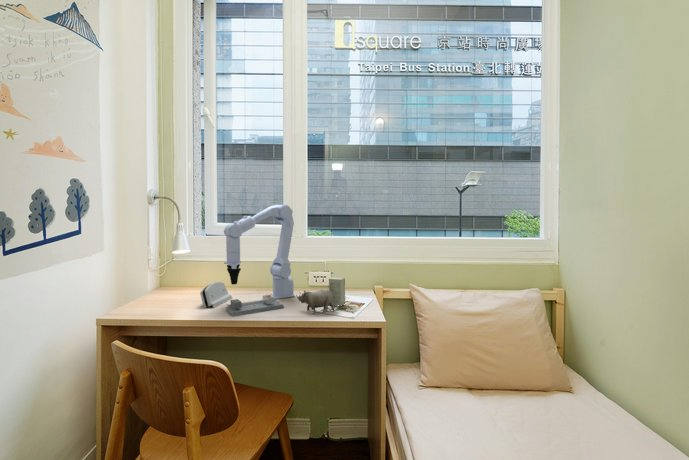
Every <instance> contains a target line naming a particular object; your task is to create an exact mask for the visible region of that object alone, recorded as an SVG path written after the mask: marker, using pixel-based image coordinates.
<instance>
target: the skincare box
mask: <svg viewBox="0 0 689 460" xmlns="http://www.w3.org/2000/svg"><path fill="white" fill-rule="evenodd" d="M328 290H329V291H331V292H332V294H333V296H334V297H333V300H332V301H331V302H332V304H333V305H339V306H342V305H344V304H345V305H346V278H345V277H335V276H332V277H329V278H328ZM345 305H344V306H345ZM342 307H343V306H342Z"/></svg>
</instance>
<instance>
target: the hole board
mask: <svg viewBox="0 0 689 460" xmlns="http://www.w3.org/2000/svg"><path fill="white" fill-rule="evenodd" d="M229 301H230V304H226V306H225V312H226V313H228V315H230V316H231V317H236V316H242V315H247V314H255V313H261V312H267V311H272V310H279V309H284V304H283V303H282V302H279V301H278V300H277V299H275V298H274V303H271V304H266V303H265V302H263V299H256V300H252V301H251V300H250V301H243V302H242V301H241V300H239V299H237V298H235V299H231V300H229Z"/></svg>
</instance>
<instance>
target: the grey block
mask: <svg viewBox="0 0 689 460" xmlns="http://www.w3.org/2000/svg"><path fill="white" fill-rule="evenodd" d="M262 300H263V302H265V303H266V304H271V303H274V297H272V296H271V295H270V294H265V295H262Z"/></svg>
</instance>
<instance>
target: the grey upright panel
mask: <svg viewBox="0 0 689 460" xmlns="http://www.w3.org/2000/svg"><path fill="white" fill-rule="evenodd" d="M199 295H200V298H201V301H202V302H201V303H202V306H203V308H207V307H211V306H212V308H213V309H216V308H218V307H219V306H222V305H223V304H226V303H228V302H229V301H230V300H233V297H232V294H231V293H229V292H228V289H227V287H226V284H225V283H224V282H220V281H217V282H213V283H210V284H207V285H206V286H204V287H203V288H201V291H200V292H199Z"/></svg>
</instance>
